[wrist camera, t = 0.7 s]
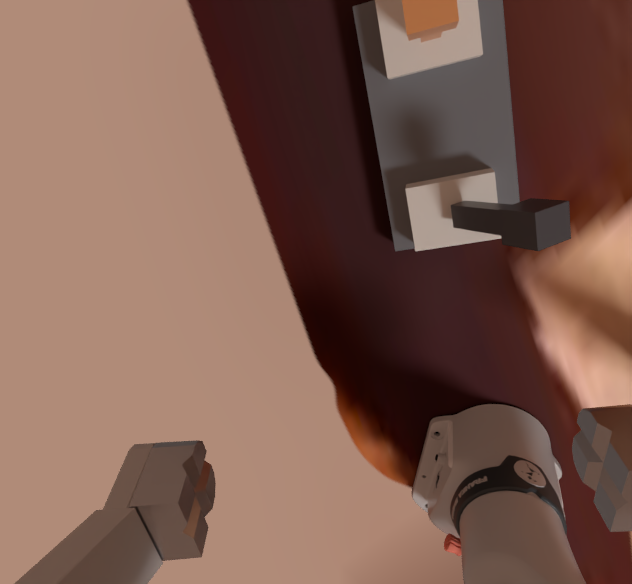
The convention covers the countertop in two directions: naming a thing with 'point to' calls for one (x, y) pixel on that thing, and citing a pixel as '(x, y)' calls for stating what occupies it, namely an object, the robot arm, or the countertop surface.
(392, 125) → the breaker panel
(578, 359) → the countertop surface
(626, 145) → the countertop surface
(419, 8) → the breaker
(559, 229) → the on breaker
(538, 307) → the countertop surface
